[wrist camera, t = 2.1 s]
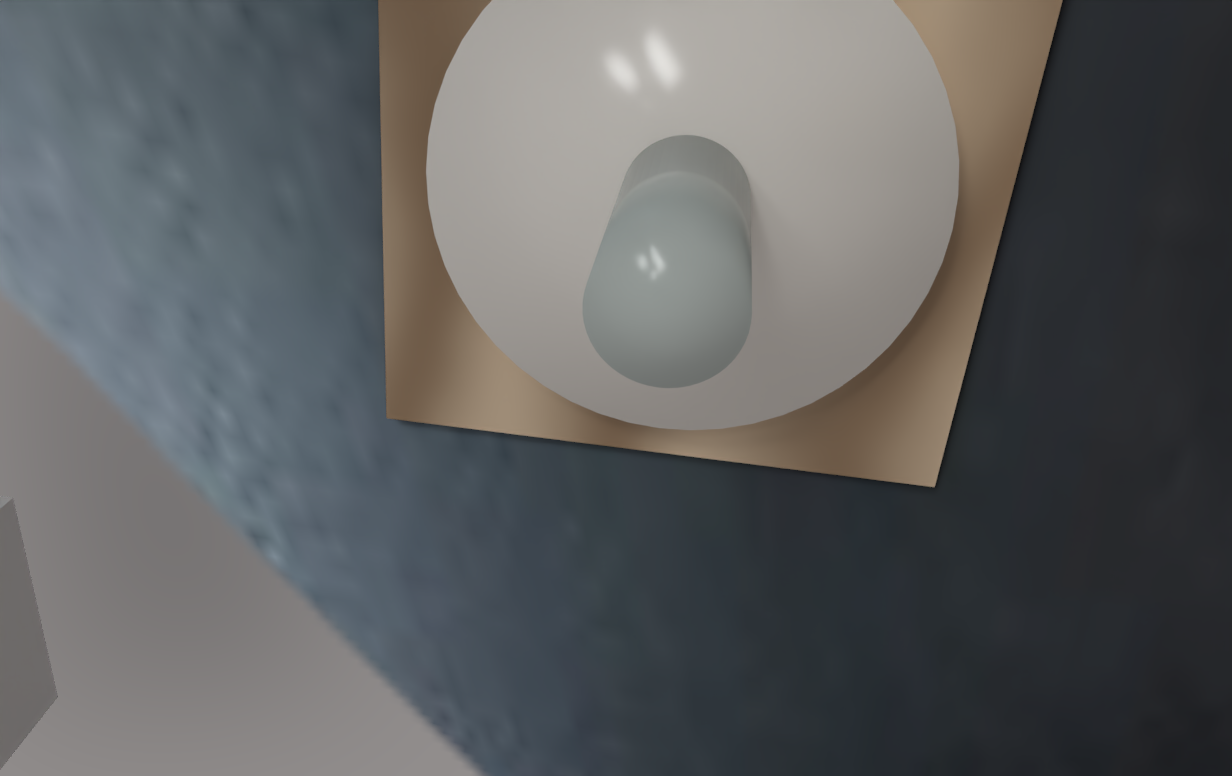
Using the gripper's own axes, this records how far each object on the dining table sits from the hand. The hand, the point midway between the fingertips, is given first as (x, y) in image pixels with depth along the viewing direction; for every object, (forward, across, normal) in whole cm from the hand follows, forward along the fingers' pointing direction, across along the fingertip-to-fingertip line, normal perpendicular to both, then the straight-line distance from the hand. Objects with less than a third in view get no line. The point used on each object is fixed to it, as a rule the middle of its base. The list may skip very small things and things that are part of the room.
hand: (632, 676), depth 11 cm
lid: (+18, 0, 0) cm, 18 cm away
